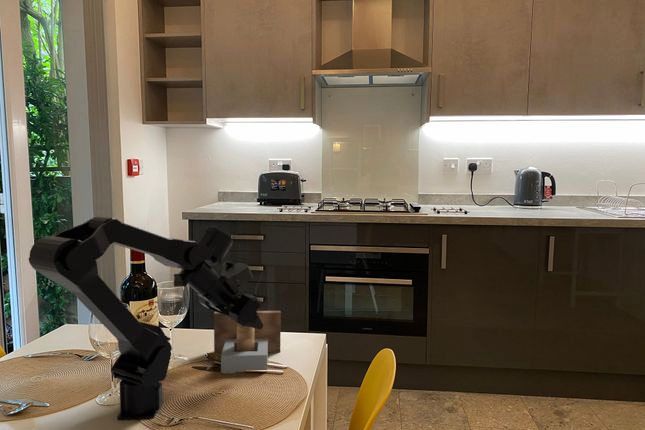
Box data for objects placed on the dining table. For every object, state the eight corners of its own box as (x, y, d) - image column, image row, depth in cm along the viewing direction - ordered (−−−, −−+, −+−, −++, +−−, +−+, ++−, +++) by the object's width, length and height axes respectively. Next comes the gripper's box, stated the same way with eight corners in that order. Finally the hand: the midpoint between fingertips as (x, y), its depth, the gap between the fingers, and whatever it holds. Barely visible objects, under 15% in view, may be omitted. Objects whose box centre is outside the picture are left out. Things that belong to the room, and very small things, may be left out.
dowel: (236, 367, 105) (236, 313, 104) (237, 360, 109) (237, 308, 108) (253, 367, 105) (254, 313, 104) (254, 359, 109) (254, 308, 108)
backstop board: (214, 353, 113) (214, 313, 112) (215, 350, 114) (214, 311, 113) (280, 352, 114) (280, 312, 113) (280, 349, 116) (280, 310, 115)
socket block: (221, 373, 102) (221, 355, 101) (226, 355, 112) (226, 339, 111) (266, 372, 103) (267, 355, 102) (267, 354, 113) (268, 338, 112)
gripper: (253, 259, 95) (295, 303, 103) (210, 247, 109) (250, 286, 117) (218, 304, 91) (265, 345, 99) (178, 284, 105) (222, 322, 113)
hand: (251, 322), depth 107 cm, fingers open, 9 cm apart
